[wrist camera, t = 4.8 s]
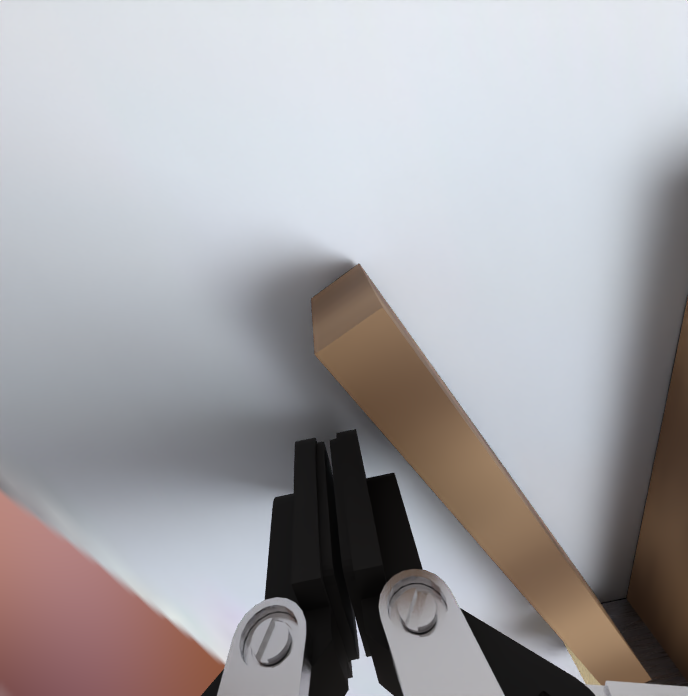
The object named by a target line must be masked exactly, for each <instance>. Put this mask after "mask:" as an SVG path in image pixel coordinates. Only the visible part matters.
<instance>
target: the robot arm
mask: <svg viewBox="0 0 688 696" xmlns="http://www.w3.org/2000/svg"><path fill="white" fill-rule="evenodd" d="M330 449H331V459H332V469H333V474H332V470H331V466H330V462H329V458H328V454H327V451H326V447H325V443H324V441H323V442H318V443H317V441H316V438H311V439H306V440H301V441H296V442H295V457H294V493H293V494H289V495H284V496H279V497H275V498H274V501H273V508H272V520H271V532H270V544H269V556H268V568H267V580H266V591H265V600H264V601H262V602H261V603H259V604H257V605H255V606H254V607H253V608H252V609H251V610H249V611H248V612H247V613H246V614H245V616H244V617H243V618H242V620H241V621H240V623H239V624H238V626H237V628H236V631H235V633H234V636H233V639H232V642H231V646H230V650H229V653H228V657H227V661H226V664H225V668H224V669H223V671H222V672H221V673H220V674H219V675H218V677H217V678H216V679H215V680H214V681H213V682H212V683H211V685H210V686H209V687H208V688H207V689H206V691H205V692H204V693H203V694H202V695H201V696H345V695H346V693H347V691H348V690H349V688H348V678H352V677H353V676H352V665H351V660H355V659H359V647H358V639H357V630H356V621H357V625H358V628H359V632H360V635H361V639H362V642H363V646H364V650H365V653H366V656H367V657H369V656H372V659H373V663H374V666H375V670H376V674H377V678H378V681H379V684H381V685H382V686H383V687H384V688H385V689H387V690H388V691H389V692H390V693H391V694H393V695H394V696H688V687H685V686H672V685H658V684H645V683H631V682H618V681H606V682H605V686H603V685H590V684H583V683H582V682H580V681H579V680H578V679H576V678H575V677H573V676H572V675H570V674H568V673H567V672H565V671H563V670H562V669H560V668H558V667H557V666H555V665H554V664H552V663H550V662H549V661H547V660H545V659H544V658H542V657H540V656H539V655H537V654H535V653H534V652H532V651H530V650H529V649H527V648H525V647H524V646H522V645H520V644H519V643H517V642H515V641H514V640H512V639H511V638H509V637H507V636H506V635H504V634H502V633H501V632H499V631H497V630H496V629H494V628H492V627H491V626H489V625H487V624H486V623H484V622H482V621H481V620H479V619H477V618H476V617H474V616H472V615H471V614H469V613H468V612H466V611H464V610H463V609H461V608H460V607H459V605H458V603H457V601H456V599H455V598H454V596H453V594H452V592H451V590H450V589H449V587H448V586H447V585H446V583H445V582H444V581H443V580H442V579H440V578H439V577H438V576H437V575H435V574H433V573H431V572H428V571H426V570H423V569H422V566H421V562H420V559H419V555H418V552H417V548H416V545H415V542H414V538H413V535H412V531H411V528H410V524H409V521H408V518H407V514H406V511H405V507H404V504H403V500H402V497H401V494H400V490H399V487H398V483H397V480H396V477H395V474H394V473H390V474H385V475H380V476H375V477H371V478H366V475H365V470H364V466H363V461H362V456H361V451H360V446H359V442H358V437H357V432H356V429H354V430H350V431H345V432H340V433H337V439H333V440H330ZM355 618H356V621H355Z"/></svg>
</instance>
